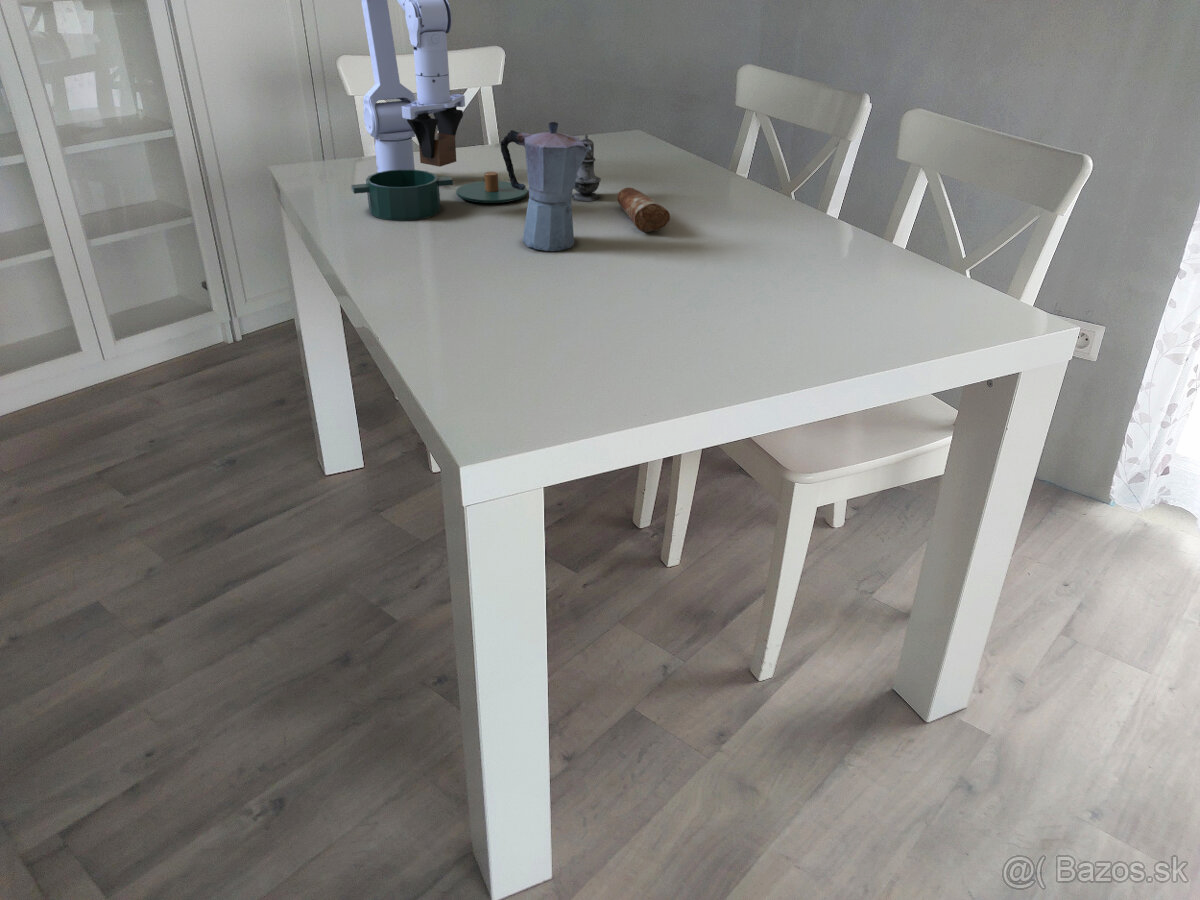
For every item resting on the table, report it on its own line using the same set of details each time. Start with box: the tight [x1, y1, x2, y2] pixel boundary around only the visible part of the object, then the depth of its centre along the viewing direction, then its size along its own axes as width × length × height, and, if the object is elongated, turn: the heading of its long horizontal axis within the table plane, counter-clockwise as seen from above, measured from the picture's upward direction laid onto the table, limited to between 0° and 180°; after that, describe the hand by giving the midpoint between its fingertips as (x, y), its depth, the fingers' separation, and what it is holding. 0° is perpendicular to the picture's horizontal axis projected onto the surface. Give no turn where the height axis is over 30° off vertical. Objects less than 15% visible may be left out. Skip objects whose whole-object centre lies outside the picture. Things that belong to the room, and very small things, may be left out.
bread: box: [616, 187, 671, 233], centre depth 170 cm, size 6×19×6 cm, turn 11°
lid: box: [455, 171, 528, 204], centre depth 182 cm, size 14×14×4 cm
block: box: [418, 131, 457, 167], centre depth 168 cm, size 5×5×5 cm
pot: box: [351, 169, 454, 222], centre depth 172 cm, size 13×18×6 cm
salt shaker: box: [571, 133, 602, 202], centre depth 180 cm, size 6×6×12 cm
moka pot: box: [500, 121, 592, 252], centre depth 153 cm, size 10×15×20 cm, turn 78°
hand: (437, 154), depth 168 cm, fingers closed on block, 4 cm apart
